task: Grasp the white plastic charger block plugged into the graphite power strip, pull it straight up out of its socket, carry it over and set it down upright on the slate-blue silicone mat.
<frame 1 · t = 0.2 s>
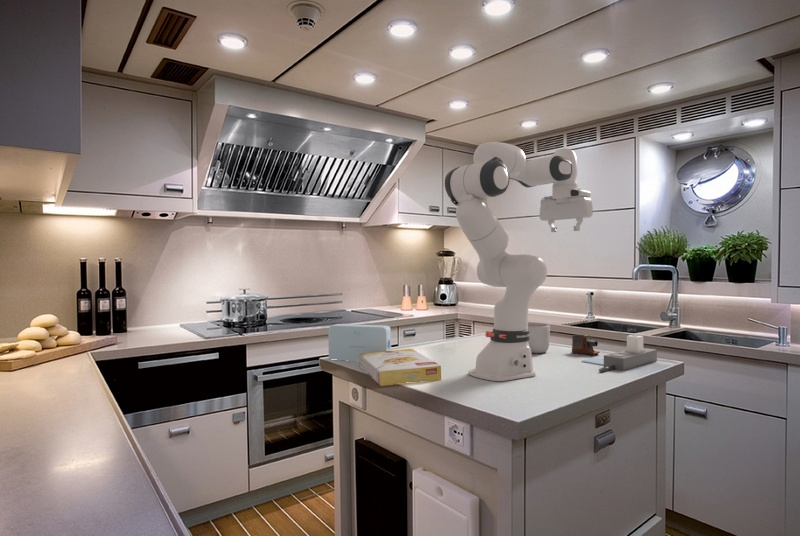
hand: (565, 231, 180), 48 cm above the table, fingers open, 8 cm apart
planter: (534, 352, 195), on the table
light blue box: (359, 361, 182), on the table
power strip: (631, 363, 171), on the table
electronic device: (585, 354, 189), on the table
mat: (598, 361, 175), on the table
charger: (635, 355, 173), point 2 cm above the table, touching power strip
cereal box: (398, 375, 161), on the table
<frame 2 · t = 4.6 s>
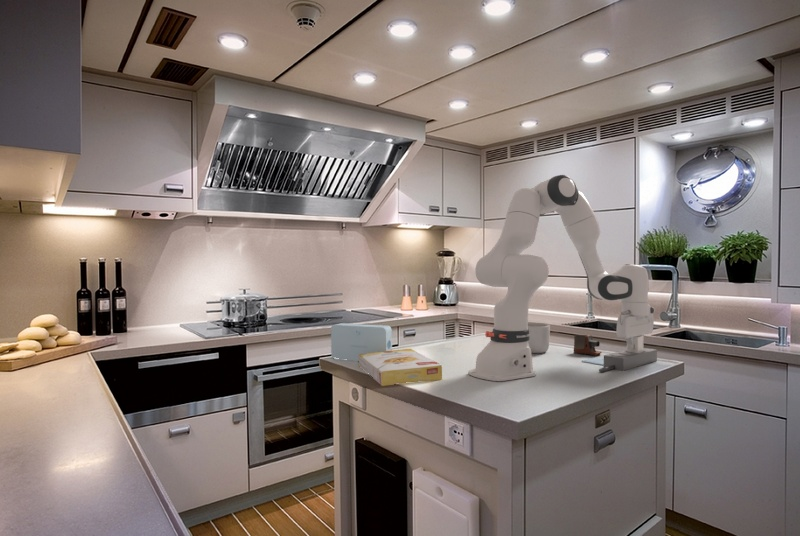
hand: (635, 348, 173), 5 cm above the table, fingers closed on charger, 4 cm apart
charger: (635, 355, 173), point 3 cm above the table, touching gripper, power strip
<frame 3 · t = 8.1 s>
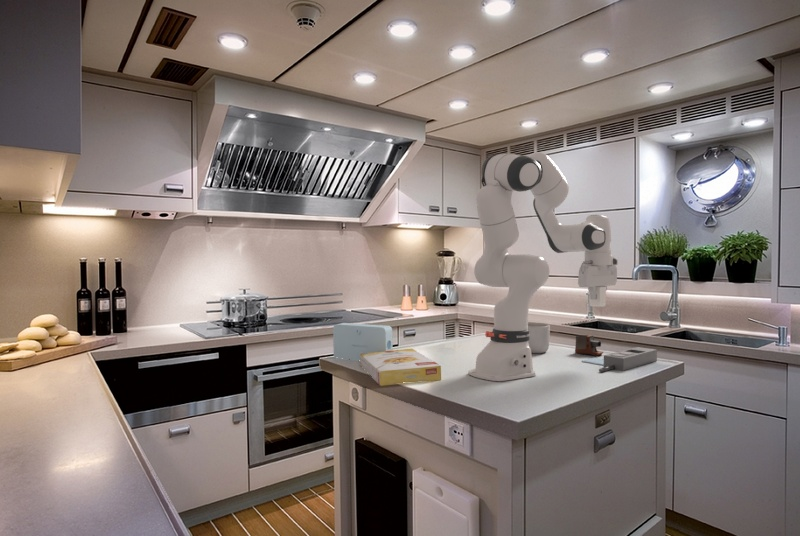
hand: (597, 298, 174), 23 cm above the table, fingers closed on charger, 4 cm apart
charger: (597, 306, 174), point 20 cm above the table, touching gripper
when the fingers open (4 cm above the table, at t = 11.7 s): charger drops 1 cm, resting on mat.
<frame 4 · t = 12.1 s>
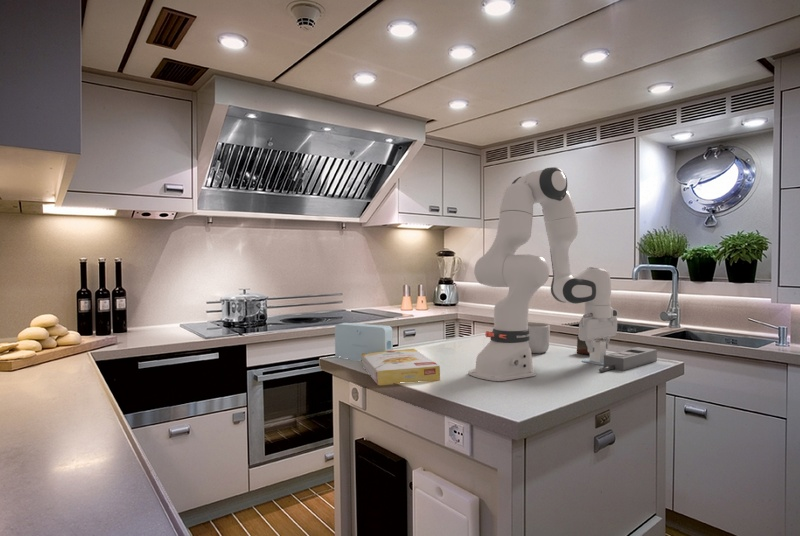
hand: (597, 350, 175), 4 cm above the table, fingers open, 8 cm apart
charger: (597, 360, 175), resting on mat
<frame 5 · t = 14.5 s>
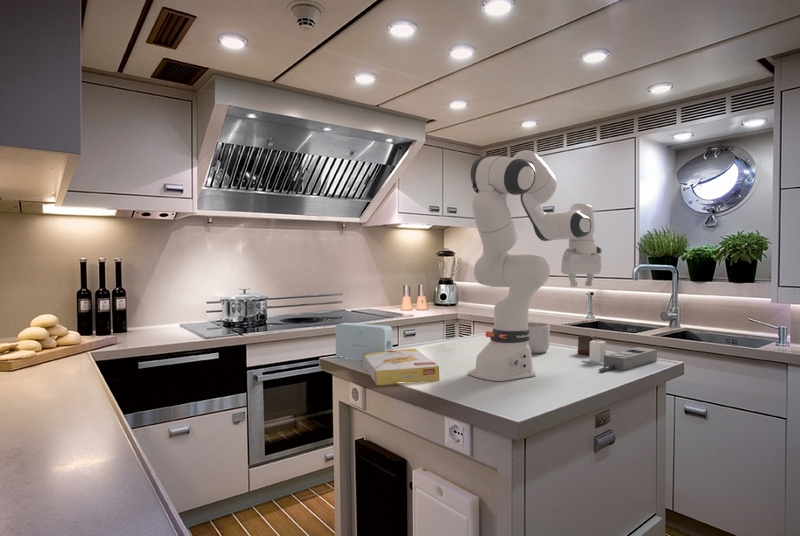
hand: (581, 286, 178), 27 cm above the table, fingers open, 8 cm apart
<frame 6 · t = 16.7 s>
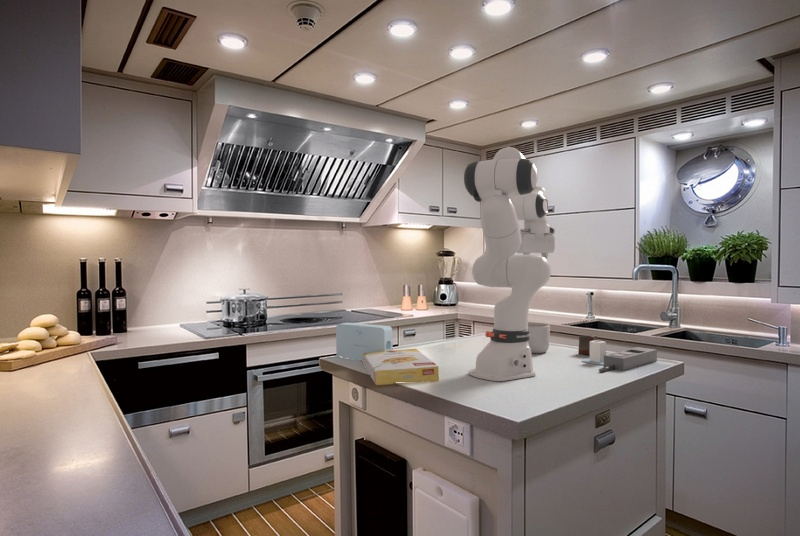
hand: (535, 264, 189), 35 cm above the table, fingers open, 8 cm apart
at the end: charger inside the target area on the mat (0.1 cm from its centre), point 0.4 cm above the mat's base; charger tilted 0°; charger touching mat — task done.
